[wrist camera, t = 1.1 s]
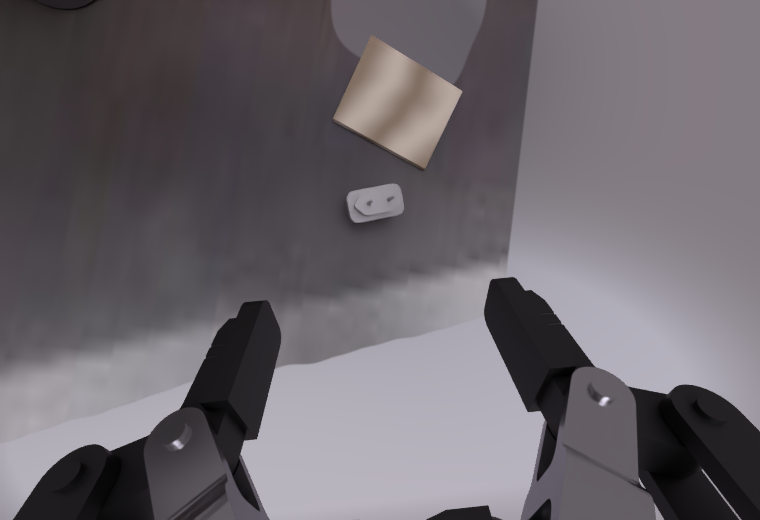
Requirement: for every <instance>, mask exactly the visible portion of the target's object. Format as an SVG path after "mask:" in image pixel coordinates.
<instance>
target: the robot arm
mask: <svg viewBox="0 0 760 520" xmlns="http://www.w3.org/2000/svg"><path fill="white" fill-rule="evenodd" d="M37 1H39V2H40V3H42V4H45V5H48V6H51V7H54V8H61V9H72V8H78V7H81V6H84V5H87V4H88V3H90V2H91V1H93V0H37ZM484 316H485V321H486V324H487V327H488V329H489V331H490V333H491V335H492V337H493V339H494V341H495V344H496V346H497V348H498V350H499V352H500V354H501V356H502V358H503V360H504V363H505V364H506V367H507V369H508V371H509V373H510V375H511V377H512V380H513V382H514V384H515V386H516V388H517V390H518V392H519V394H520V396H521V398H522V401H523V403H524V405H525V407H526V409H527V411H528V412H534V411H541V412H542V414H543V416H544V418H545V422H544V425H543V429H542V434H541V439H540V444H539V449H538V454H537V459H536V464H535V470H534V475H533V479H532V483H531V487H530V490H529V493H528V495H527V498H526V501H525V504H524V508H523V512H522V516H521V520H656V517H655V507H654V503H655V505H656V506H657V508H658V510H659V511H660V513H661V515H662V516H663V518H664V520H739V519H738V518H737V516H736V515H735V514H734V512H733V511H732V510H731V509H730V507H729V506H728V504H727V503H726V502H725V501H724V500H723V498H722V497H721V495H720V494H719V493H718V491H717V490H716V489H715V487H714V486H713V485H712V484H711V482H710V481H709V480H708V478H707V477H706V476H705V474H704V473H703V472H702V469H703V470H704V471H705V473H706V474H707V475H708V476H709V478H710V479H711V480H712V482H713V483H714V484H715V485H716V487H717V488H718V489H719V491H720V492H721V493H722V495H723V496H724V497H725V499H726V500H727V501H728V502H729V504H730V505H731V506H732V507H733V509H734V510H735V512H736V513H737V514H738V515H739V517H740V518H741V519H742V520H760V431H759V430H758V429H757V428H756V427H755V426H754V425H753V424H752V423H751V422H750V421H749V420H748V419H747V418H746V417H745V416H744V415H743V414H742V413H741V412H740V411H739V410H738V409H737V408H736V407H735V406H733V405H732V404H731V403H730V402H728V401H727V400H725V399H724V398H722V397H721V396H719V395H717V394H715V393H713V392H711V391H709V390H707V389H704V388H701V387H698V386H694V385H679V386H677V387H675V388H674V389H673V390H672V391H671V392H670V393H669V394H663V393H658V392H653V391H647V390H642V389H637V388H632V387H628V386H626V385H625V383H624V382H622V381H621V380H620V379H618V378H617V377H616V376H614V375H613V374H611V373H609V372H607V371H605V370H602V369H599V368H596V367H595V366H594V365H593V364H592V363H591V361H590V360H589V359H588V357H587V356H586V355H585V353H584V352H583V351H582V349H581V348H580V347H579V345H578V344H577V343H576V341H575V340H574V339H573V337H572V336H571V334H570V333H569V332H568V330H567V329H566V328H565V326H564V325H562V324H561V321H560V320H559V319H558V317H557V316H556V315H554V312H553V311H552V309H551V308H550V306H549V305H548V304H547V302H546V301H545V300H544V299H543V298H541V297H540V296H538V295H537V294H536V293H534V292H533V291H532V290H528V291H525V290H524V289H523V288H522V286H521V285H520V283H519V282H518V281H517V279H516V278H514V277H510V278H500V279H492V280H491V282H490V285H489V289H488V294H487V299H486V303H485V308H484ZM280 344H281V331H280V328H279V325H278V323H277V320H276V318H275V315H274V313H273V311H272V308H271V306H270V304H269V302H268V301H267V300H264V301H253V302H245V303H243V305H242V306H241V308H240V311H239V313H238V315H237V318H231V319H229V320H228V321H227V322H226V323H225V324H224V325H223V326H222V327H221V328H220V329H219V330H218V332H217V334H216V336H215V338H214V340H213V342H212V344H211V348H209V351H208V353H207V355H206V359H204V361H203V363H202V365H201V367H200V369H199V371H198V373H197V375H196V378H195V380H194V382H193V384H192V386H191V388H190V390H189V392H188V394H187V397H186V398H185V400H184V403H183V404H182V406H181V408H180V409H179V410H178V411H175V412H173V413H172V414H170V415H168V416H167V417H166V418H164V419H163V420H162V421H161V422H160V423H159V424H158V425H157V426H156V427H155V428H154V430H153V431H152V432H151V434H150V435H148V436H146V437H144V438H141V439H139V440H137V441H134V442H132V443H129V444H127V445H125V446H122V447H120V448H117V449H115V450H112V451H109V450H107V449H105V448H104V447H102V446H100V445H96V444H93V445H87V446H84V447H81V448H78V449H77V450H74V451H72V452H71V453H69V454H68V455H66V456H65V457H63V458H62V459H60V460H59V461H58V462H57V463H56V464H54V465H53V466H52V467H51V468H50V469H49V470H48V471H47V472H46V474H45V475H44V476H43V477H42V478H41V480H40V481H39V482H38V484H37V485H36V487H35V488H34V490H33V491H32V493H31V494H30V496H29V497H28V499H27V500H26V501H25V503H24V505H23V506H22V507H21V509H20V510H19V512H18V513H17V515H16V516H15V518H14V519H13V520H269V518H268V516H267V514H266V512H265V510H264V508H263V506H262V503H261V501H260V499H259V496H258V494H257V491H256V489H255V487H254V484H253V482H252V480H251V478H250V475H249V473H248V470H247V468H246V466H245V463H244V461H243V459H242V456H241V455H240V453H241V449H242V446H243V442H244V440H253V439H257V437H258V433H259V429H260V425H261V421H262V417H263V413H264V409H265V404H266V401H267V397H268V393H269V389H270V385H271V381H272V377H273V373H274V369H275V365H276V361H277V357H278V353H279V349H280ZM639 478H640V480H641V482H642V483H643V485H644V486H645V488H646V489H644V488H643V487H641V485H640V482H639ZM653 501H654V502H653ZM427 520H501V519H499V518H496V517H492V516H491V513H490V510H489V506H479V507H469V508H460V509H451V510H445V511H443V512H441V513H439V514H437V515H435V516H433V517H431V518H429V519H427Z"/></svg>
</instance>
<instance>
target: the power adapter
mask: <svg viewBox="0 0 760 520" xmlns="http://www.w3.org/2000/svg"><path fill="white" fill-rule="evenodd" d="M346 208H347V212H348V217H349V220H350V221H351V222H353V223H361V222H366V221H371V220H376V219H381V218H386V217H391V216H396V215H400V214H401V213H402V212H403V210H404V203H403V197H402V192H401V188H400V187H399V186H398V185H397V184H387V185H382V186H377V187H371V188H366V189H361V190H355V191H352V192H350V193H349V194H348V196H347V200H346Z"/></svg>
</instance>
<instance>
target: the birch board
mask: <svg viewBox="0 0 760 520" xmlns="http://www.w3.org/2000/svg"><path fill="white" fill-rule="evenodd" d="M461 93H462V91H461V90H460V89H458V88H457V87H455V86H453V85H452V84H450V83H448V82H447V81H445V80H444V79H442V78H440V77H438V76H437V75H435V74H433V73H432V72H430V71H429V70H427V69H426V68H424V67H423V66H421V65H419V64H417V63H416V62H414V61H412V60H411V59H409V58H408V57H406V56H405V55H403V54H401V53H400V52H398V51H397V50H395V49H393V48H392V47H390V46H389V45H387V44H385V43H384V42H382V41H380V40H379V39H377V38H376V37H374V36H372V35H371V38H370V40H369V42H368V44H367V46H366V48H365V50H364V52H363V55H362V57H361V59H360V61H359V63H358V66H357V68H356V70H355V72H354V74H353V76H352V79H351V81H350V83H349V85H348V87H347V89H346V92H345V94H344V96H343V98H342V100H341V103H340V105H339V107H338V109H337V111H336V113H335V116H334V118H333V122H335V123H337V124H339V125H341V126H343V127H344V128H346V129H348V130H350V131H352V132H354V133H355V134H357V135H359V136H361V137H363V138H365V139H366V140H368V141H370V142H372V143H374V144H376V145H377V146H379V147H381V148H383V149H385V150H386V151H388V152H390V153H392V154H394V155H396V156H397V157H399V158H401V159H403V160H405V161H407V162H408V163H410V164H412V165H414V166H416V167H418V168H419V169H421V170H424V169H425V168H426V166H427V164H428V162H429V160H430V157H431V155H432V153H433V151H434V149H435V147H436V145H437V143H438V141H439V139H440V137H441V135H442V133H443V131H444V129H445V126H446V124H447V122H448V120H449V118H450V116H451V114H452V112H453V110H454V108H455V106H456V104H457V102H458V100H459V98H460V95H461Z"/></svg>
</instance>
